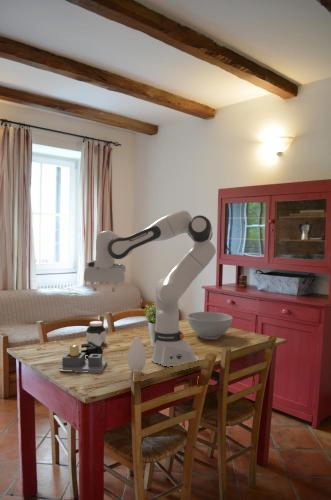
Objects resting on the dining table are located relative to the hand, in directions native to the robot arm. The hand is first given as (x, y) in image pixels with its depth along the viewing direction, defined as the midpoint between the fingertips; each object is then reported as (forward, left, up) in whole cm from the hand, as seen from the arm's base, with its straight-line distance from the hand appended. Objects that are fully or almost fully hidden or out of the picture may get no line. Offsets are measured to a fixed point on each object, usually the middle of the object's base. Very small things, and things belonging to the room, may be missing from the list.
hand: (104, 291), depth 193 cm
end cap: (+4, +8, -31) cm, 33 cm away
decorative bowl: (-55, -39, -31) cm, 74 cm away
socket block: (+4, +22, -31) cm, 38 cm away
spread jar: (+7, -14, -31) cm, 35 cm away
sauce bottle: (-20, +26, -31) cm, 45 cm away
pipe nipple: (+8, +22, -30) cm, 38 cm away
